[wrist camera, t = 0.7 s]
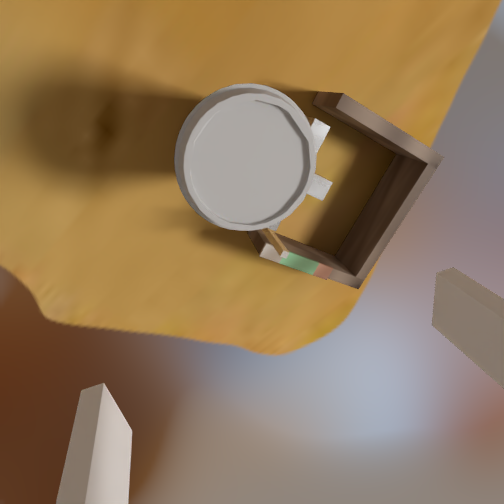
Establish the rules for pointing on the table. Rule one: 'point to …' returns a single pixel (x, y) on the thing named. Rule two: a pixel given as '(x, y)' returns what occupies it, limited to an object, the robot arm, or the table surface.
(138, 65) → the table surface
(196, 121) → the disposable coffee cup
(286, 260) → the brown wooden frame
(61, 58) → the table surface
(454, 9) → the table surface
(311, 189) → the gauge plunger
